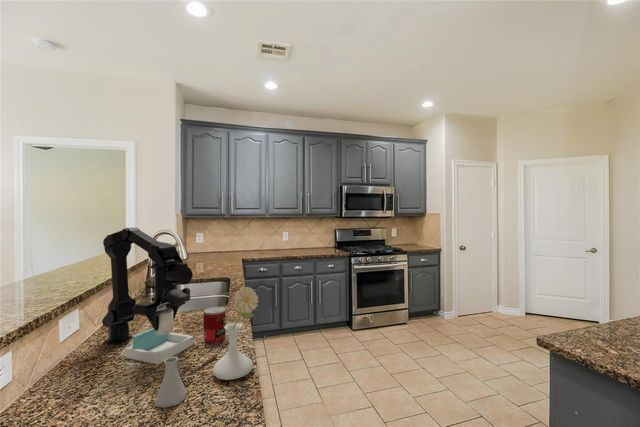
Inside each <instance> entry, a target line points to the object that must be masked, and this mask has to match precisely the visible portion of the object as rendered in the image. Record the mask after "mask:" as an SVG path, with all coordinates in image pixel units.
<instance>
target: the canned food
mask: <svg viewBox="0 0 640 427" xmlns="http://www.w3.org/2000/svg"><path fill="white" fill-rule="evenodd" d="M226 316H227V315H226V308H225V307H222V306H212V307H208V308H205V309H204V310H203V341H204V342H205V343H208V344H216V343H219V342H223V341H224V340H225V339H226V333H227V331H226V329H225V328H224V326H226V325H227V324H226V321H227V320H226Z"/></svg>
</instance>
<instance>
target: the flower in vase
mask: <svg viewBox="0 0 640 427" xmlns="http://www.w3.org/2000/svg"><path fill="white" fill-rule="evenodd" d="M234 293H235V294H234V298H233V300H234V303H233V304H234V306H235V307H236V308H237V309H238V311H239V315H238V316H237V318H234V317H228V316H227V315H226V319H227V320H230V321H235V322H232V323H228V324H226V326H224V328H225V329H226V333H227V337H228V344H229V345H228V346H229V347H228V351H227V353H225V355H224V356H222V357H221V358H220V359H219V360H218V361H217V362H216V363H215V364H214V365H213V369H212V374H213V375H214V377H216V378H218V379H219V380H226V381H227V380H228V381H229V380H236V379H240V378H242V377H245V376H247V375H248V374H249V373H250V372H252V370H253V367H254V363H253V361H252V359H251V358H249V356H247V355H246V354H244V353H242V352H240V351H239V349H238V348H239V347H238V336H239V333H240V330H241V328H242V326H243V325H242V323H240V322H239V323H238V321H239V319H240V317H241V318H243V319H244V320H249V319H251V318H252V317H254V316H255V315H254V313H253V311H254V310H256V308H257V307H259V306H258V303H259V300H258V299H259V296H258V295H257V294H256V291H254V289H253V288H252V287H249V286H246V287H245V286H241V287H239V290H236V291H235V292H234Z"/></svg>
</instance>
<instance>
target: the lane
mask: <svg viewBox="0 0 640 427" xmlns="http://www.w3.org/2000/svg"><path fill="white" fill-rule="evenodd" d="M192 346H194V335H188V334H182V333H176V332H171V333H169V334H167V340H166V341H164V342H162V343H160V344H158V345H156V346H154V347H151V348H149V349H147V350H140V349H135V348H133V344H132V345H130V346H128V347H126V348H125V359H131V360H134V361H140V362H144V363H149V364H153V365H159V364H161V363H162V364H163V363H164V360H165V359H167V358H169V357H175V356H176V355H178V354H180V353H181V352H183V351H185V350H187V349H188V348H191V347H192Z"/></svg>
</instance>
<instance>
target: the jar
mask: <svg viewBox="0 0 640 427" xmlns="http://www.w3.org/2000/svg"><path fill="white" fill-rule="evenodd" d="M159 311H162V312H161V314H160V315H159V328H158V331H155V335H166V334H169V333H174V321H173V308H170V307H166V306H165V307H159Z"/></svg>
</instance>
